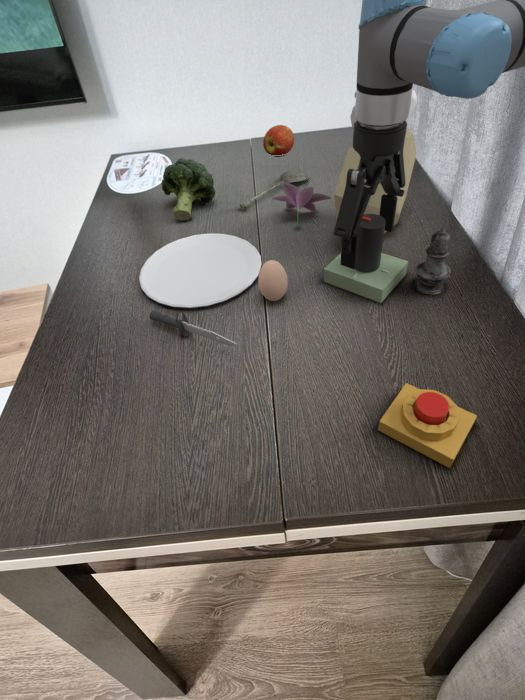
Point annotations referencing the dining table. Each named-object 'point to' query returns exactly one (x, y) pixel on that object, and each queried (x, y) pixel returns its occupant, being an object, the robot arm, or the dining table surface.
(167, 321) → the knife
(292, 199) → the lily
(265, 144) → the apple
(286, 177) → the soupspoon
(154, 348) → the dining table surface
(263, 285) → the egg
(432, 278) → the chess piece
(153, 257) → the plate
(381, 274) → the dial panel
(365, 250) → the dial
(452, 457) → the button box
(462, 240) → the dining table surface
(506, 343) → the dining table surface
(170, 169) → the vegetable
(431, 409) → the button
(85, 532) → the dining table surface
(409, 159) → the tan faceted bottle
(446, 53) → the robot arm
